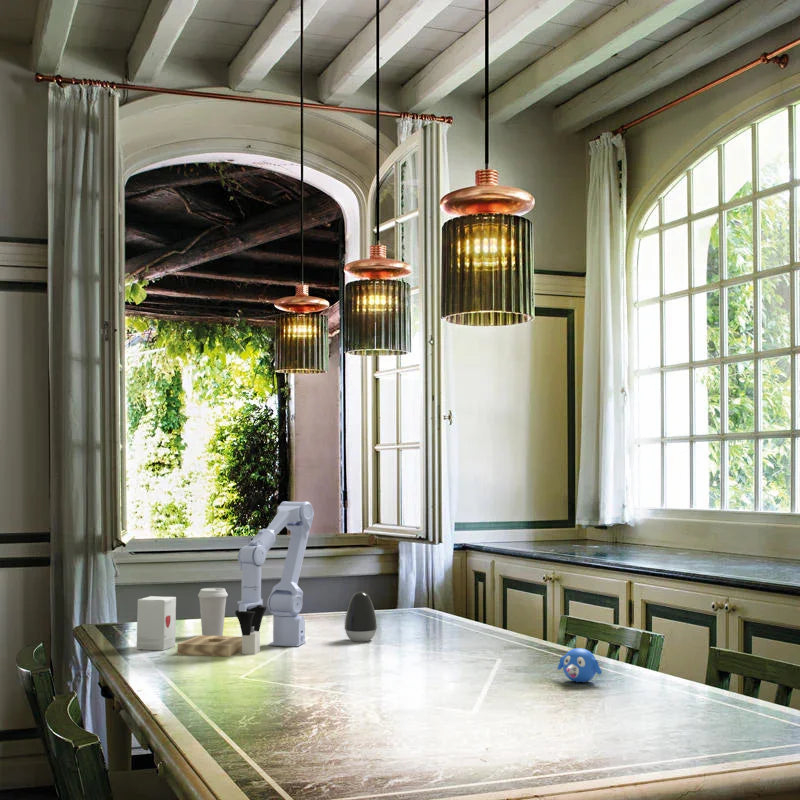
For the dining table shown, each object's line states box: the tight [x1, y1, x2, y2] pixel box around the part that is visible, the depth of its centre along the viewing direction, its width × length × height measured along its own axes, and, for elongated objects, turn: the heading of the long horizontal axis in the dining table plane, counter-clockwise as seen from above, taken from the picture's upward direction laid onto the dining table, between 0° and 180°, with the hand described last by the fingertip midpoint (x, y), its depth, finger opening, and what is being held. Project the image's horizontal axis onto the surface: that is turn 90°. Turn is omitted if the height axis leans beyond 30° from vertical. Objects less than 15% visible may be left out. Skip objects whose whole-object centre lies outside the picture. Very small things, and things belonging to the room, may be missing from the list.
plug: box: [241, 627, 261, 655], centre depth 305 cm, size 4×4×8 cm
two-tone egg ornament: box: [344, 591, 378, 642], centre depth 327 cm, size 10×10×15 cm
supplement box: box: [136, 595, 177, 651], centre depth 314 cm, size 9×9×15 cm
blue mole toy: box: [557, 647, 603, 683], centre depth 260 cm, size 12×12×8 cm
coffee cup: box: [197, 587, 229, 636], centre depth 335 cm, size 10×10×15 cm
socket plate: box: [176, 634, 242, 657], centre depth 308 cm, size 16×16×3 cm
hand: (250, 633), depth 305 cm, fingers open, 7 cm apart
